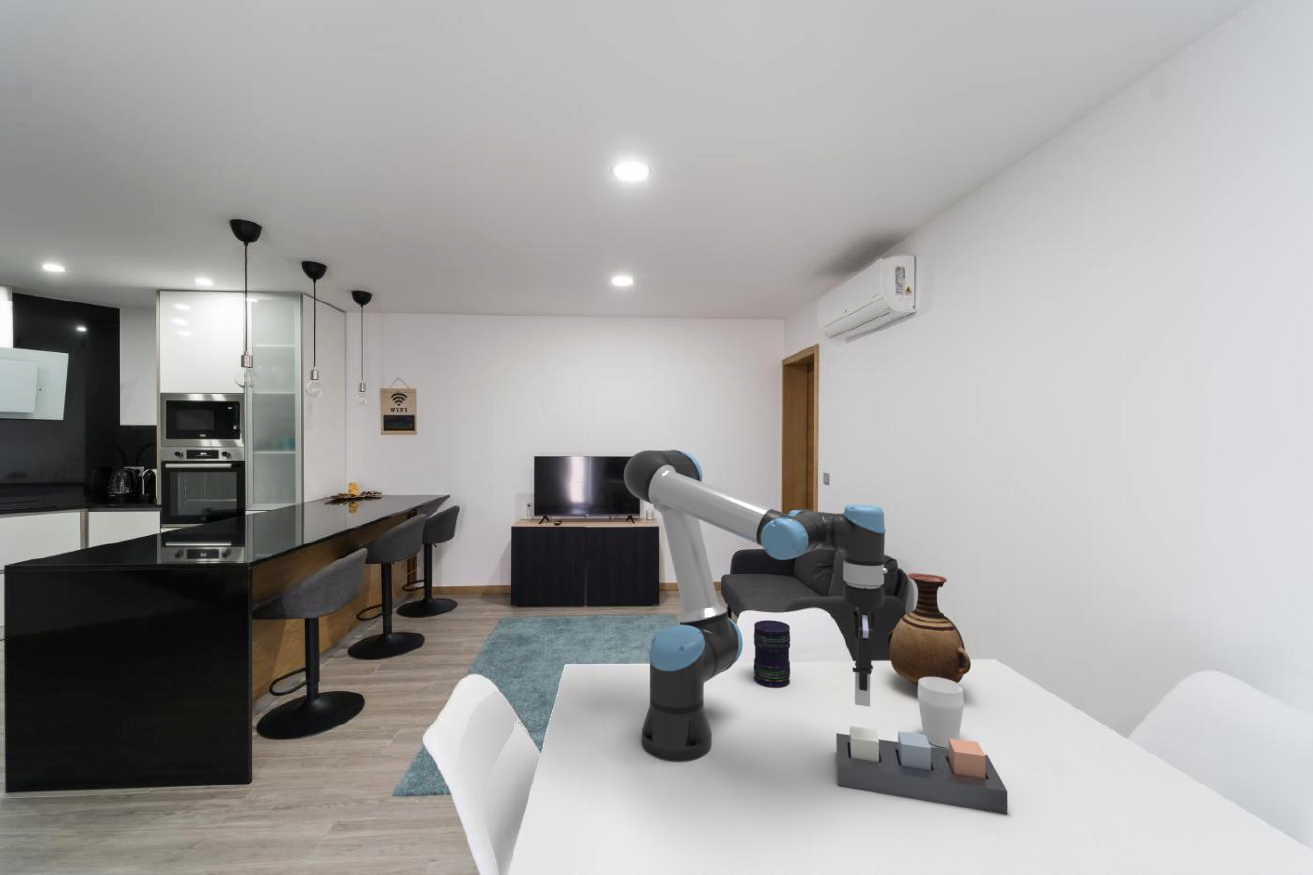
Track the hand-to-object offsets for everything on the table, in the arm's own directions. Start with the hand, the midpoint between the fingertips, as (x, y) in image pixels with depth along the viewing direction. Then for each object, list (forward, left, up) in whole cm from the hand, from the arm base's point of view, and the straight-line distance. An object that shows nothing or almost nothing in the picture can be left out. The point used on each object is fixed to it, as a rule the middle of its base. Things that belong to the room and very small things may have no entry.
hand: (862, 703), depth 109 cm
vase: (+19, +45, -14) cm, 51 cm away
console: (+9, 0, -13) cm, 16 cm away
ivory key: (0, 0, -11) cm, 11 cm away
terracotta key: (+18, 0, -11) cm, 21 cm away
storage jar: (-21, +39, -14) cm, 46 cm away
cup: (+17, +18, -14) cm, 28 cm away
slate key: (+9, 0, -11) cm, 14 cm away
